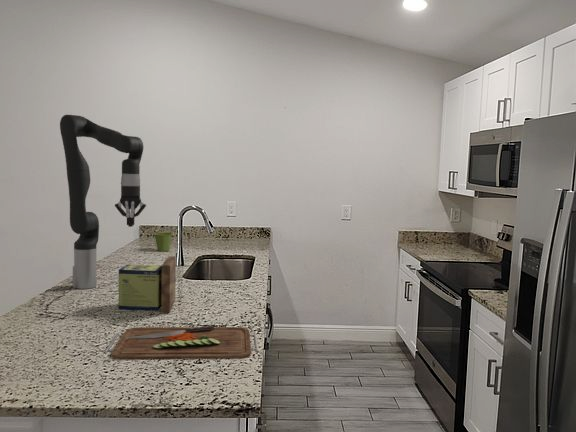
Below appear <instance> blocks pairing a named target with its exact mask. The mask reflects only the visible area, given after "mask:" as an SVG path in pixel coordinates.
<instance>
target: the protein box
mask: <svg viewBox="0 0 576 432" xmlns="http://www.w3.org/2000/svg"><path fill="white" fill-rule="evenodd" d="M161 298H162V265H155V264H153V265H152V264H151V265H149V264H126V265H125V266H123V267H121V268H120V269H118V298H117V299H118V300H117V301H118V304H117V309H118V310H122V311H123V310H127V311H155V312H157V311H159V310H161Z"/></svg>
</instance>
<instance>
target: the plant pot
mask: <svg viewBox="0 0 576 432" xmlns="http://www.w3.org/2000/svg"><path fill="white" fill-rule="evenodd" d="M153 235H154V237H155V243H156V249H157V252H160V253H161V252H163V253H165V252H170V247H171V241H172V237H173V235H174V233H173V232H162V231H161V232H155V233H153Z"/></svg>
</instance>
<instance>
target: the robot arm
mask: <svg viewBox="0 0 576 432" xmlns="http://www.w3.org/2000/svg"><path fill="white" fill-rule="evenodd" d="M59 130H60V134H61V140H62V146H63V150H64V157H65V165H66V166H65V167H66V168H65V169H66V178H67V185H68V197H69V198H68V199H69V226H70V229H71V230H72V232H74V233H75V234H76V235H79V236H78V238H77V240H75V242H73V264H74V265H73V266H72V289H80V290H86V289H87V290H88V289H93V288H96V287H97V286H98V285H97V283H98V282H97V278H98V277H97V273H98V272H97V245H98V243H99V232H100V231H99V230H100V222H99V221H100V220H99V217H98V215H97V214H96V213H94V212H93V211H87V209H86V207H87V206H86V199H87V195H88V192H89V189H90V187H91V186H90V184H91V173H90V166H89V163H88V161H87V160H86V158H85V157H84V155H83V154H82V152H81V151H80V148H79V145H78V140H77V139H78V138H83V137H84V138H90V139H91V138H92V139H95V140H96V141H97V142H99V144H102V145H104V146H107V147H110V148H113V149H115V150H117V151H118V152H120V153H123V154H128V157H127V158H125V159H123V160H122V161H121V179H120V188H121V189H120V199H119V201H118V202H117V203H115V204H114V207H115V208H116V209H117V211H118V212H119V214H121V215H122V217H125V218H126V225H127V226H128V227H130V228H131V227H133V226H135V218H136V217H138V216H140V214H141V213H142V212H143V211H144V210H145V209H146V207H147V204H146V203H144V202H142V199H141V178H140V177H141V176H140V174H141V173H140V168H141V166H140V164H141V161H142V157H143V154H144V152H143V151H144V142H143V140H142V138H141V137H139V136H131V135H130V136H129V135H124V134H123V133H121V132H119V131H117V130H114V129H111V128H108V127H105V126H101V125H99V124H97V123H94V122H93V121H91V120H90V119H88V118H86V117H84V116H82V115H75V114H64V115H63V116H62V117H61V118H60V122H59ZM122 207H123V208H124V209H125V210H124V209H123V208H122ZM138 207H139V209H138ZM136 209H138V210H137V211H136Z"/></svg>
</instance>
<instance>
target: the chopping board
mask: <svg viewBox="0 0 576 432" xmlns="http://www.w3.org/2000/svg"><path fill="white" fill-rule="evenodd" d="M118 337H121V338H120V339H119V341H118V342H117V343H116V345H115V347H114V348H111V347H112V346H113V344H114V343H115V341H116V340H117V338H118ZM251 337H253V338H254V340H253V341H254V346H255V348H252V346H251ZM258 345H259V343H258V337H257V333H256V332H254V333H253V334H251V333H250V330H249V328H247V327H240V326H238V327H237V326H236V327H235V326H234V327H233V326H228V327H227V326H224V327H223V326H222V327H221V326H218V327H217V326H216V327H215V325H207V326H197V327H194V326H191V327H189V326H188V327H187V326H185V327H184V326H183V327H182V326H177V327H176V326H172V327H171V326H168V327H164V326H163V327H159V326H158V327H157V326H155V327H151V326H150V327H149V326H147V327H145V326H141V327H140V326H139V327H137V326H136V327H135V326H134V327H131V328H128V329H126V330H125V332H124V333H123V334H120V333H119V332H117V333H116V334H115V336H114V337H113V339H112V340H111V342H110V343H109V344H108V345H107V347H106V348H105V350H104V353H108V352H111V354H110V355H111V356H110V357H112V359H116V360H152V359H153V360H157V359H163V360H167V359H169V360H170V359H171V360H174V359H175V360H176V359H181V360H182V359H184V360H185V359H188V360H189V359H246V358H249V357H250V356H251V355H252V351H255V352H259V346H258Z"/></svg>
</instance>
